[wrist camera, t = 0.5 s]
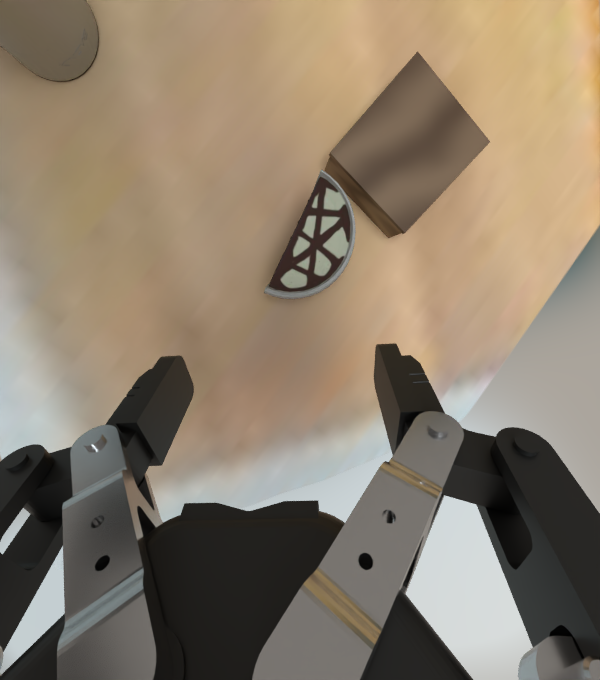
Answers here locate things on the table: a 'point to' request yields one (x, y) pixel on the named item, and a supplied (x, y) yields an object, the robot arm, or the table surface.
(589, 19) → the table surface
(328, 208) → the food container
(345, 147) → the walnut block
